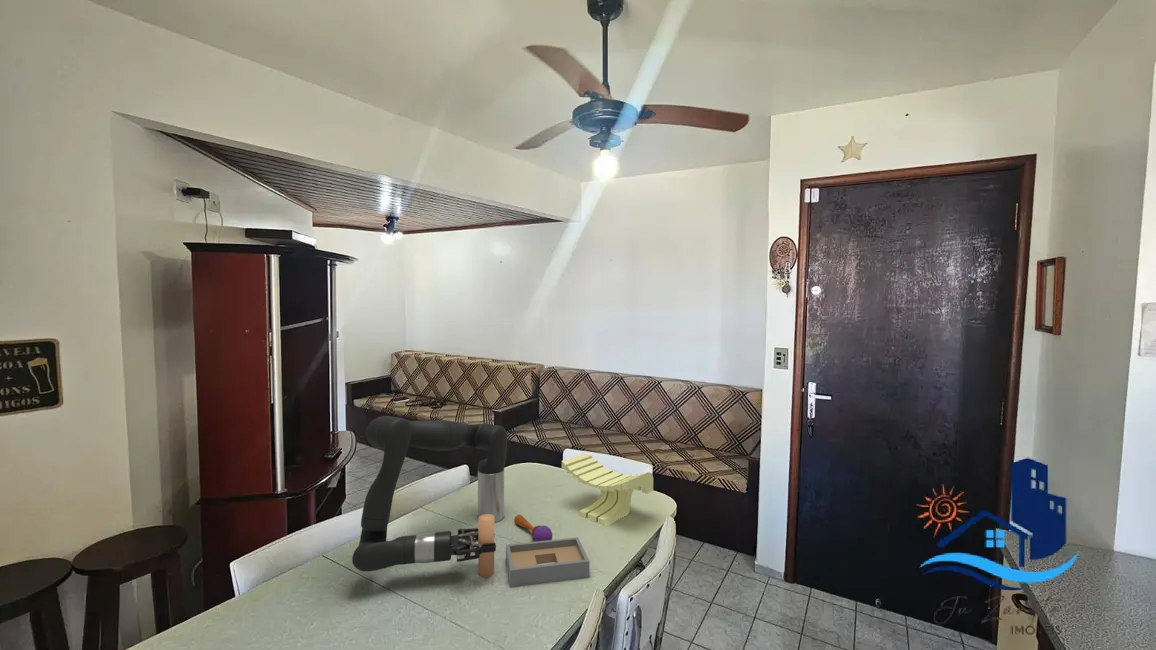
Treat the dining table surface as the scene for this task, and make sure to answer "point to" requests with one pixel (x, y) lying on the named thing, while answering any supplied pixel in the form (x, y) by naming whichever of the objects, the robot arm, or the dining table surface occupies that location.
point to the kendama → (535, 529)
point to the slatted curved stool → (607, 488)
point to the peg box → (562, 551)
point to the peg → (485, 537)
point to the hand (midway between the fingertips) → (494, 540)
